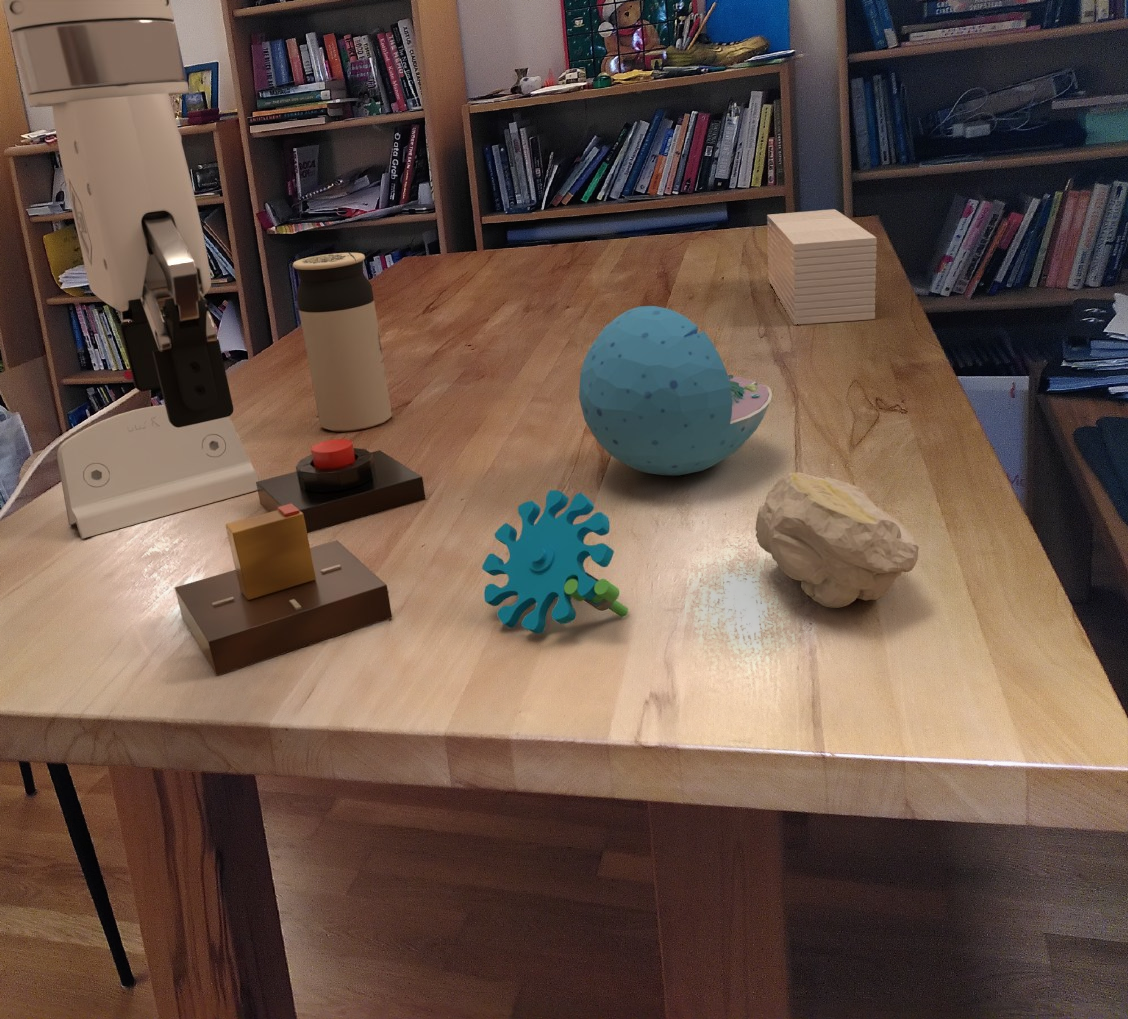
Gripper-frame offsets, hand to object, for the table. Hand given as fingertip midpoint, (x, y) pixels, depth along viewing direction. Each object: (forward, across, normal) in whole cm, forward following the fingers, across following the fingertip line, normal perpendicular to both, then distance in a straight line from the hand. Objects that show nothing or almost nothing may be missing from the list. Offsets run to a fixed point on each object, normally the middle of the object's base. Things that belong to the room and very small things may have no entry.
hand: (182, 402), depth 58 cm
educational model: (+18, -12, +43) cm, 48 cm away
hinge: (+18, -38, +3) cm, 43 cm away
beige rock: (+18, +14, +36) cm, 42 cm away
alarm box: (+18, -26, +16) cm, 36 cm away
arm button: (+15, -26, +16) cm, 34 cm away
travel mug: (+18, -49, +26) cm, 59 cm away
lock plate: (+18, -7, +5) cm, 20 cm away
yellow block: (+16, -7, +5) cm, 18 cm away
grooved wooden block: (+18, -56, +100) cm, 116 cm away
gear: (+18, +5, +20) cm, 27 cm away
